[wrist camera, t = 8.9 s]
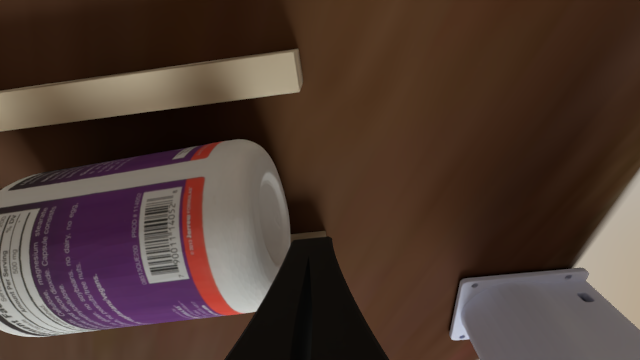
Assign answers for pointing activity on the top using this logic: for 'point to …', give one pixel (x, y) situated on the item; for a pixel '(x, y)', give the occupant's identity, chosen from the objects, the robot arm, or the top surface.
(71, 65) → the top surface
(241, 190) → the pill bottle
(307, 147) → the top surface
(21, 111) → the cradle
